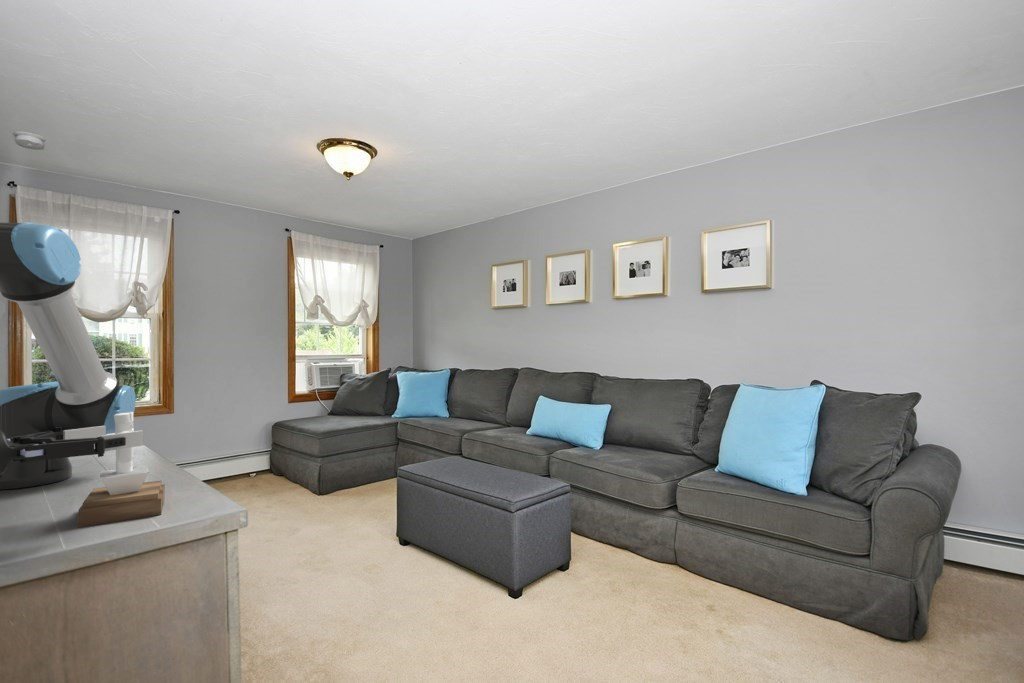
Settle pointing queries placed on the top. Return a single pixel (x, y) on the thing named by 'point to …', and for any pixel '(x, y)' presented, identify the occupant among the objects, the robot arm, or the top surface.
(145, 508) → the plinth
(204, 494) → the top surface
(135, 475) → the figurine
